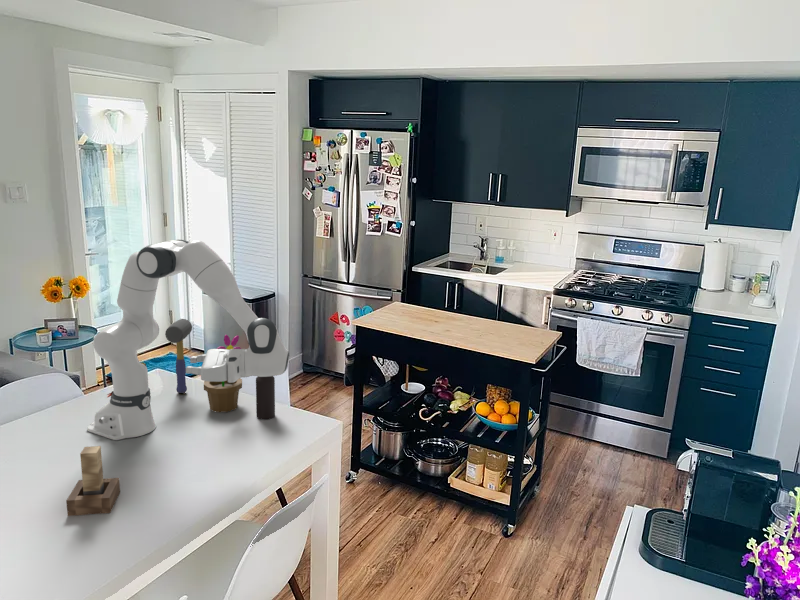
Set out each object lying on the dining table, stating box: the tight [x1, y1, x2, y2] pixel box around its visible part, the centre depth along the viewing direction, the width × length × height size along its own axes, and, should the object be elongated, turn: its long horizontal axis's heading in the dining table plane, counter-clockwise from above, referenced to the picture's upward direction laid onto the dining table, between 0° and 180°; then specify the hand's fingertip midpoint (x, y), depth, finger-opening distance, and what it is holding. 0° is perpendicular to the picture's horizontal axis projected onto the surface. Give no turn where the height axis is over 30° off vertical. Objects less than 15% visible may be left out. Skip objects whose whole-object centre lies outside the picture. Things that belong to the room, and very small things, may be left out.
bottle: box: [255, 376, 276, 421], centre depth 223 cm, size 7×7×20 cm
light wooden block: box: [79, 445, 105, 496], centre depth 163 cm, size 4×4×16 cm
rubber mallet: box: [165, 318, 193, 394], centre depth 240 cm, size 12×8×30 cm, turn 1°
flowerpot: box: [203, 334, 243, 413], centre depth 229 cm, size 14×14×30 cm
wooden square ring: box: [65, 477, 121, 517], centre depth 165 cm, size 10×10×4 cm
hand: (188, 364), depth 183 cm, fingers open, 8 cm apart
